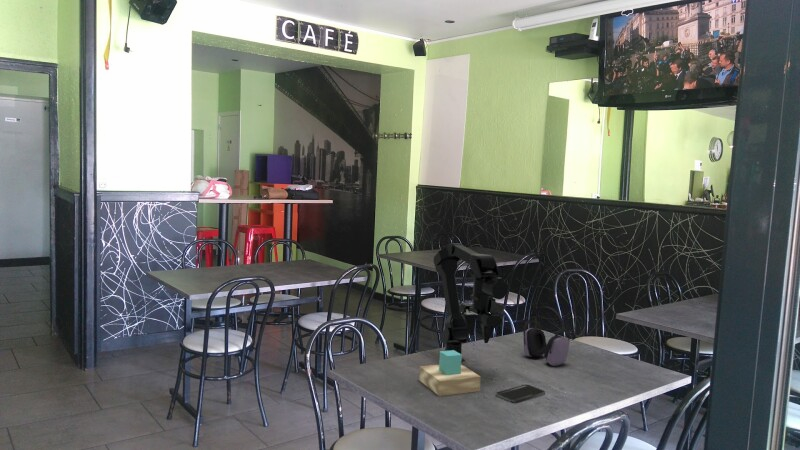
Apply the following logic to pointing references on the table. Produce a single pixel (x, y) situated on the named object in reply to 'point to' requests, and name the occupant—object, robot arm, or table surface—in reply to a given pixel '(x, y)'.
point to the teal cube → (450, 362)
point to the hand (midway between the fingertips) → (478, 339)
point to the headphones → (537, 344)
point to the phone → (520, 393)
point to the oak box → (449, 380)
